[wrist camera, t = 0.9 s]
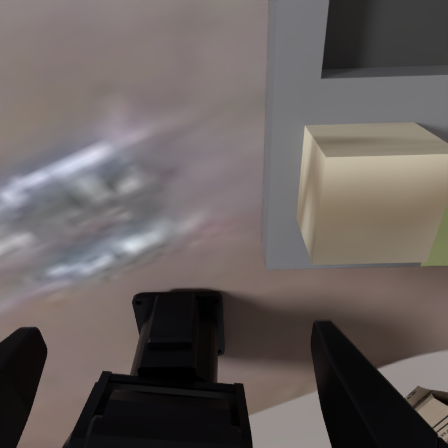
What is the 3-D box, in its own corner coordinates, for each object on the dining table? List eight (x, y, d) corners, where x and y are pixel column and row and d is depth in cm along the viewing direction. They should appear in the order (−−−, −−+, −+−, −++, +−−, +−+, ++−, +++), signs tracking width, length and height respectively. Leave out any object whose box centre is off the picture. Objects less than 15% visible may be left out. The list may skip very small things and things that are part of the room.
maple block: (390, 215, 19) (426, 262, 16) (296, 218, 19) (312, 264, 16) (414, 122, 16) (464, 153, 13) (305, 125, 16) (326, 157, 13)
